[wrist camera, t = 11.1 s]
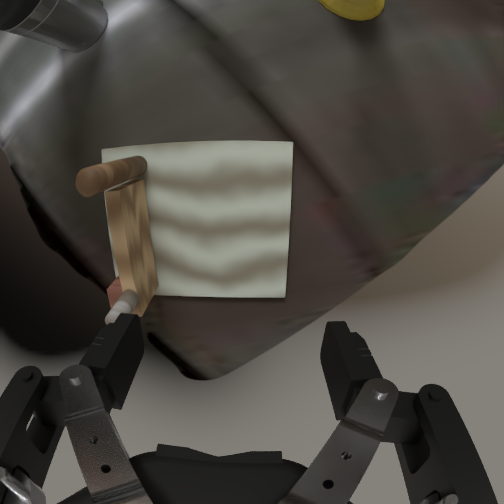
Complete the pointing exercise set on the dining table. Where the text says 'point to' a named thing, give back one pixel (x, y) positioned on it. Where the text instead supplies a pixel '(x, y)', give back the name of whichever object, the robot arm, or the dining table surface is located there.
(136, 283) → the wooden panel
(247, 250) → the towel on rod
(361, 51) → the dining table surface
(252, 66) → the dining table surface
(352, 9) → the handbell
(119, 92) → the dining table surface
